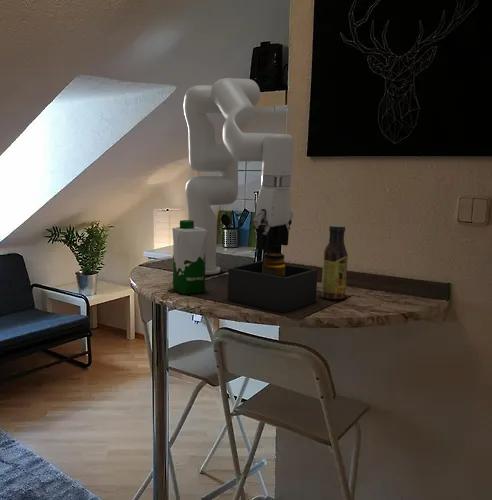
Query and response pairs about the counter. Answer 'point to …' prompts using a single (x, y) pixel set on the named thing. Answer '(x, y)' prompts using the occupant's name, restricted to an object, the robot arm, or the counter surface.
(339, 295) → the sauce bottle
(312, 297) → the dark grey open box
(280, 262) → the condiment
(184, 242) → the milk carton
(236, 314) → the counter surface
